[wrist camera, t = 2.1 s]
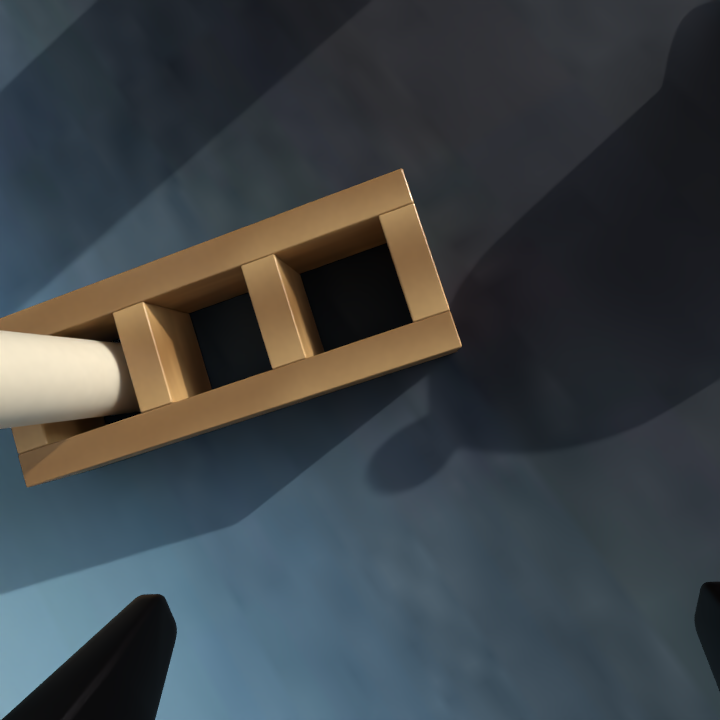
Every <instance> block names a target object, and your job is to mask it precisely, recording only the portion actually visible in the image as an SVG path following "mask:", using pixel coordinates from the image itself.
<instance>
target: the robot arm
mask: <svg viewBox="0 0 720 720" xmlns="http://www.w3.org/2000/svg"><path fill="white" fill-rule="evenodd" d="M695 627H696V631H697V634H698V637H699V639H700V642H701V644H702V647H703V650H704V652H705V655H706V657H707V660H708V662H709V665H710V668H711V670H712V673H713V675H714V678H715V681H716V683H717V686H718V688H719V691H720V582H706V583H704V584H703V585H702V586H701V589H700V594H699V598H698V603H697V607H696V612H695ZM176 634H177V627H176V623H175V620H174V618H173V615H172V613H171V611H170V608H169V606H168V604H167V601H166V599H165V597H164V596H162V595H160V594H147V595H141V596H138V597H137V598H135V599H134V600H133V601H132V602H131V603H130V604H129V605H128V606H126V607H125V608H124V609H123V610H122V611H121V612H120V613H119V614H118V615H117V616H115V617H114V618H113V619H112V620H111V621H110V622H109V623H108V624H107V625H106V626H104V627H103V628H102V629H101V630H100V631H99V632H98V633H97V634H96V635H95V636H93V637H92V638H91V639H90V640H89V641H88V642H87V643H86V644H85V645H83V646H82V647H81V648H80V649H79V650H78V651H77V652H76V653H75V654H74V655H72V656H71V657H70V658H69V659H68V660H67V661H66V662H65V663H64V664H63V665H61V666H60V667H59V668H58V669H57V670H56V671H55V672H54V673H53V674H52V675H50V676H49V677H48V678H47V679H46V680H45V681H44V682H43V683H42V684H40V685H39V686H38V687H37V688H36V689H35V690H34V691H33V692H32V693H31V694H29V695H28V696H27V697H26V698H25V699H24V700H23V701H22V702H21V703H20V704H18V705H17V706H16V707H15V708H14V709H13V710H12V711H11V712H10V713H8V714H7V715H6V716H5V717H4V718H3V719H2V720H155V718H156V714H157V710H158V706H159V702H160V698H161V694H162V691H163V687H164V683H165V679H166V675H167V671H168V667H169V664H170V660H171V656H172V652H173V648H174V644H175V640H176Z"/></svg>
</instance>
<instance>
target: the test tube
mask: <svg viewBox="0 0 720 720" xmlns="http://www.w3.org/2000/svg"><path fill="white" fill-rule="evenodd" d="M133 412H141V411H140V408H139V404H138V401H137V397H136V394H135V390H134V387H133V383H132V380H131V376H130V373H129V369H128V366H127V362H126V359H125V355H124V352H123V348H122V345H121V343H115V342H105V341H96V340H87V339H77V338H68V337H58V336H49V335H39V334H30V333H20V332H11V331H1V330H0V429H4V428H12V427H20V426H28V425H36V424H44V423H52V422H60V421H69V420H77V419H85V418H93V417H101V416H109V415H117V414H125V413H133Z"/></svg>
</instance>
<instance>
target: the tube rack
mask: <svg viewBox="0 0 720 720" xmlns="http://www.w3.org/2000/svg"><path fill="white" fill-rule="evenodd" d="M385 243H387V244H388V247H389V250H390V253H391V257H392V260H393V263H394V266H395V269H396V272H397V275H398V278H399V281H400V284H401V287H402V290H403V293H404V296H405V299H406V302H407V305H408V308H409V311H410V314H411V317H412V320H413V323H410V324H407V325H405V326H402V327H399V328H396V329H393V330H390V331H387V332H384V333H381V334H378V335H375V336H372V337H369V338H366V339H363V340H360V341H357V342H354V343H351V344H348V345H345V346H342V347H339V348H336V349H333V350H330V351H327V352H324V349H323V346H322V343H321V339H320V336H319V333H318V330H317V327H316V323H315V320H314V317H313V314H312V311H311V308H310V304H309V301H308V298H307V295H306V292H305V289H304V285H303V282H302V279H301V276H300V274H301V273H304V272H306V271H309V270H312V269H315V268H318V267H320V266H323V265H326V264H329V263H332V262H334V261H337V260H340V259H343V258H346V257H348V256H351V255H354V254H357V253H360V252H363V251H365V250H368V249H371V248H374V247H377V246H379V245H382V244H385ZM247 292H249V295H250V298H251V301H252V304H253V308H254V311H255V314H256V318H257V321H258V324H259V327H260V331H261V334H262V337H263V340H264V344H265V347H266V350H267V353H268V357H269V360H270V363H271V366H272V369H273V370H270V371H267V372H264V373H261V374H258V375H255V376H252V377H249V378H246V379H243V380H240V381H237V382H234V383H231V384H228V385H225V386H222V387H219V388H216V389H213V390H212V388H211V385H210V381H209V378H208V375H207V371H206V368H205V364H204V361H203V358H202V354H201V351H200V348H199V344H198V341H197V337H196V334H195V331H194V327H193V324H192V321H191V317H190V315H189V313H191V312H194V311H197V310H200V309H203V308H205V307H208V306H211V305H214V304H217V303H219V302H222V301H225V300H228V299H231V298H233V297H236V296H239V295H242V294H245V293H247ZM0 330H1V331H11V332H20V333H30V334H39V335H49V336H58V337H68V338H77V339H87V340H96V341H105V342H110V341H113V340H116V339H118V338H120V341H121V345H122V348H123V352H124V355H125V359H126V362H127V366H128V369H129V373H130V376H131V380H132V383H133V387H134V390H135V394H136V397H137V401H138V404H139V408H140V411H141V414H138V415H135V416H132V417H129V418H126V419H123V420H120V421H117V422H114V423H111V424H108V425H106V424H105V420H104V416H101V417H93V418H85V419H77V420H69V421H60V422H52V423H44V424H36V425H28V426H20V427H12V428H11V429H12V433H13V436H14V440H15V444H16V448H17V452H18V453H19V455H18V457H19V460H20V464H21V468H22V472H23V475H24V479H25V483H26V487H32V486H36V485H39V484H43V483H47V482H50V481H54V480H57V479H61V478H65V477H68V476H72V475H75V474H79V473H83V472H86V471H90V470H93V469H96V468H99V467H102V466H105V465H109V464H112V463H115V462H118V461H121V460H124V459H127V458H130V457H133V456H136V455H139V454H143V453H146V452H149V451H152V450H155V449H158V448H161V447H164V446H167V445H170V444H173V443H177V442H180V441H183V440H186V439H189V438H192V437H195V436H198V435H201V434H204V433H207V432H211V431H214V430H217V429H220V428H223V427H226V426H229V425H232V424H235V423H238V422H241V421H245V420H248V419H251V418H254V417H257V416H260V415H263V414H266V413H269V412H272V411H275V410H279V409H282V408H285V407H288V406H291V405H294V404H297V403H300V402H303V401H306V400H309V399H313V398H316V397H319V396H322V395H325V394H328V393H331V392H334V391H337V390H340V389H343V388H347V387H350V386H353V385H356V384H359V383H362V382H365V381H368V380H371V379H374V378H377V377H381V376H384V375H387V374H390V373H393V372H396V371H399V370H402V369H405V368H408V367H411V366H415V365H418V364H421V363H424V362H427V361H430V360H433V359H436V358H439V357H442V356H445V355H449V354H452V353H455V352H456V351H457V350H459V349H460V348H461V347H462V344H461V341H460V338H459V335H458V332H457V329H456V326H455V323H454V321H453V318H452V315H451V312H450V311H449V306H448V303H447V300H446V297H445V294H444V291H443V288H442V285H441V282H440V279H439V276H438V273H437V270H436V267H435V264H434V261H433V258H432V255H431V252H430V249H429V246H428V243H427V240H426V237H425V234H424V231H423V228H422V225H421V222H420V219H419V216H418V213H417V210H416V207H415V204H414V202H413V198H412V195H411V192H410V189H409V186H408V183H407V180H406V178H405V175H404V172H403V170H402V169H399V170H396V171H393V172H391V173H388V174H385V175H383V176H380V177H377V178H375V179H372V180H369V181H367V182H364V183H361V184H359V185H356V186H353V187H351V188H348V189H345V190H343V191H340V192H337V193H335V194H332V195H329V196H327V197H324V198H321V199H318V200H316V201H313V202H310V203H308V204H305V205H302V206H300V207H297V208H294V209H292V210H289V211H286V212H284V213H281V214H278V215H276V216H273V217H270V218H268V219H265V220H262V221H260V222H257V223H254V224H252V225H249V226H246V227H244V228H241V229H238V230H236V231H233V232H230V233H227V234H225V235H222V236H219V237H217V238H214V239H211V240H209V241H206V242H203V243H201V244H198V245H195V246H193V247H190V248H187V249H185V250H182V251H179V252H177V253H174V254H171V255H169V256H166V257H163V258H161V259H158V260H155V261H153V262H150V263H147V264H145V265H142V266H139V267H136V268H134V269H131V270H128V271H126V272H123V273H120V274H118V275H115V276H112V277H110V278H107V279H104V280H102V281H99V282H96V283H94V284H91V285H88V286H86V287H83V288H80V289H78V290H75V291H72V292H70V293H67V294H64V295H62V296H59V297H56V298H54V299H51V300H48V301H45V302H43V303H40V304H37V305H35V306H32V307H29V308H27V309H24V310H21V311H19V312H16V313H13V314H11V315H8V316H5V317H3V318H0Z"/></svg>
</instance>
